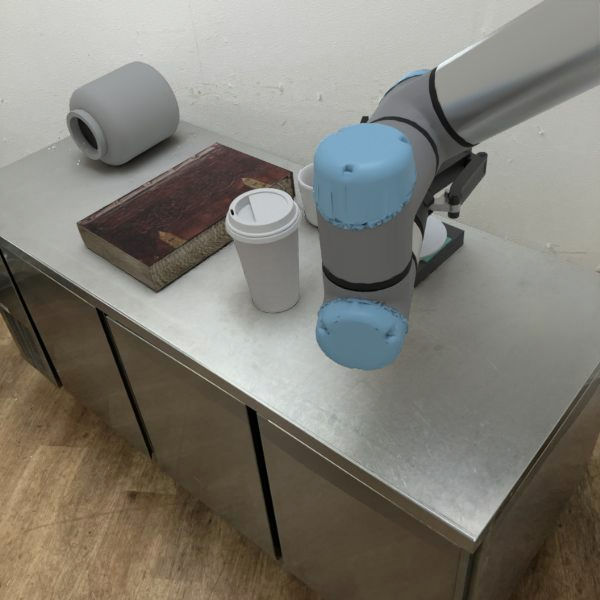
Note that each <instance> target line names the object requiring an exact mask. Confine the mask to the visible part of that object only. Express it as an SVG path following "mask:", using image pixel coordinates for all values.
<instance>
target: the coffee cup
mask: <svg viewBox="0 0 600 600" xmlns="http://www.w3.org/2000/svg"><path fill="white" fill-rule="evenodd" d="M302 218H303V216H302V212H301V209H300V207H299V206H298V203H296V201H295V200H293V198H291V196H290V195H289V194H287V193H286V192H284V191H281V190H278V189H273V188H261V189H255V190H251V191H248V192H246V193H243V194H242V195H240V196H238V197H237V198H236V199H235V200H234V201H233V202H232V203H231V205H230V207H229V211H228V213H227V216H226V222H225V228H226V231H227V232H228V234H229V235H230V236H231V237H232V238H233V243H234V247H235V250H236V253H237V255H238V258H239V259H238V260H239V262H240V265H241V269H242V272H243V274H244V278H245V280H246V281H245V282H246V284H247V287H248V291H249V293H250V296H251V300H252V302H253V305H254V306H255V308H257V309H258V310H260V311H262V312H265V313H271V314H276V313H282V312H286V311H288V310H289V309H291V308H293V307H294V306H295V305H296V304H297V303H298V302H299V300H300V294H301V293H300V290H301V288H300V251H299V250H300V248H299V247H300V246H299V242H300V241H299V226H300V225H301V223H302Z"/></svg>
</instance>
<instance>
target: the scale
mask: <svg viewBox="0 0 600 600" xmlns="http://www.w3.org/2000/svg"><path fill="white" fill-rule="evenodd" d="M464 240H465V229H461V228H459V227H457V226H454V225H451V224H449V223H447V222H444V221H441V220H440V219H439V218H438V217H436V216H434V215H432V214H431V215H430V216H429V217H428V218H427V223H426V228H425V233H424V239H423V243H422V248H421V253H420V258H419V263H418V268H417V274H416V278H415V282H414V288H413V289H416V287H418V286H419V285H420V284H421V283H422V282H423V281H424V280H426V278H427V277H429V276H430V275H431V274H432V273H433V272H434V271H435V270H436V269H438V267H440V266H441V265H442V264H443V263H444V262H445V261H446V260H447V259H449V257H450V256H452V255H453V254H454V253H455V252H456V251H457V250H458V249H460V248H461V247H462V246H463V245H464Z"/></svg>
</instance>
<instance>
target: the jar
mask: <svg viewBox="0 0 600 600" xmlns="http://www.w3.org/2000/svg"><path fill="white" fill-rule="evenodd" d="M68 103H69V104H68V107H69V111H68V110H66V113H67V115H66V119H65V121H66V126H67V130H68V132H69V134H70V137H71V138H72V140H73V142H74V144H75V145H76V146H77V148H78V149H79V150H80V152H82V153H83V154H84V155H85V156H86V157H88V158H89V159H91V160H94V161H98V160H100V161H101V162H102V163H104V164H107V165H109V166H121V165H124V164H126V163H128V162H129V161H131V160H132V159H134V158H137V156H139V155H141V154H142V153H144V152H146V151H147V150H149V149H152V148H153V147H154V146H156V145H158V144H160V143H162V142H163V141H165V140H166V139H168V138H169V137H171V136H172V135H174V134H175V132H176V131H177V129H178V127H179V123H180V119H181V116H180V115H181V114H180V108H179V103H178V100H177V97H176V95H175V92H174V90H173V89H172V87H171V85H170V83H169V82H168V81H167V79H166V78H165V76H164V75H163V74H162V73H160V71H159V70H157V69H156V68H155V67H154V66H152V65H151V64H149V63H146V62H142V61H135V60H134V61H132V62H128V63H126V64H124V65H122V66H120V67H118V68H115V69H114V70H112V71H109V72H108V73H106V74H104V75H102V76H100V77H97V78H95V79H94V80H91V81H89V82H88V83H85V84H83V85H81V86H79V87H77V88H76V89H75V90H73V92H72V93H71V96H70V98H69V102H68ZM61 110H62V111H63V110H64V107H62V108H61ZM62 126H65V123H62ZM63 131H64V129H63V128H61V130H59V131H58V133H59V134H62V132H63ZM195 137H196V135H193V138H195ZM56 139H58V140H59V139H61V136H60V135H57V138H56ZM187 142H189V139H187ZM178 148H179V149H180V148H181V146H180V145H179V146H178ZM52 150H56V146H54V145H53V146H52ZM47 151H51V148H49V147H48V148H47ZM69 151H70V152H71V151H72V148H70V149H69ZM174 155H177V152H174ZM78 162H79V163H78ZM78 162H77V163H76V165H77V166H80V162H81V160H80V159H79V160H78Z"/></svg>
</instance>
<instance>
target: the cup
mask: <svg viewBox="0 0 600 600" xmlns="http://www.w3.org/2000/svg"><path fill="white" fill-rule="evenodd" d="M296 180H297V186H298V189H299V195H300V198H301V202H302V207H303V210H304V214H305V217H306V219H307V221H308V222H309V223H310V224H311V225H313V226H314V227H317V228H318V222H317V213H316V204H315V202H314V201H315V199H314V197H313V191H314V190H313V181H314V162H312V163H308V164H307V165H305V166H304V167H302V168H301V169H300V170H299V172H298V173H297V176H296Z"/></svg>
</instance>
